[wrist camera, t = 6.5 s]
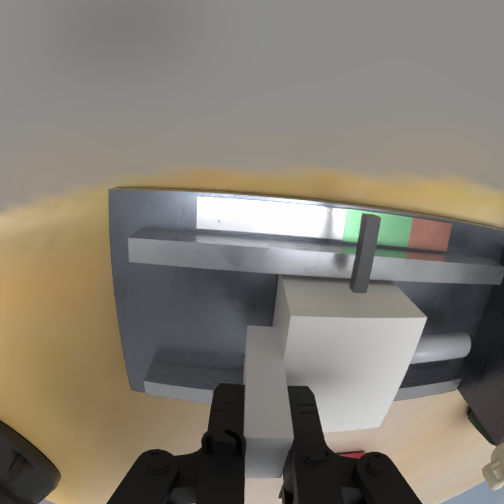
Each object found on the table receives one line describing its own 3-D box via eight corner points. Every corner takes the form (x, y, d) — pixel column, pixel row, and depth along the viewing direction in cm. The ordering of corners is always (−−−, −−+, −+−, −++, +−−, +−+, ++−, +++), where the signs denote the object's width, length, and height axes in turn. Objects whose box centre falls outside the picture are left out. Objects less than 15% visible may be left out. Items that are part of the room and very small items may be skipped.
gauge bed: (135, 379, 20) (94, 476, 11) (117, 187, 16) (6, 224, 7) (474, 376, 21) (521, 438, 12) (525, 234, 16) (604, 273, 8)
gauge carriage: (266, 371, 18) (269, 433, 13) (287, 195, 14) (304, 214, 10) (428, 366, 18) (458, 410, 13) (473, 222, 15) (527, 245, 10)
